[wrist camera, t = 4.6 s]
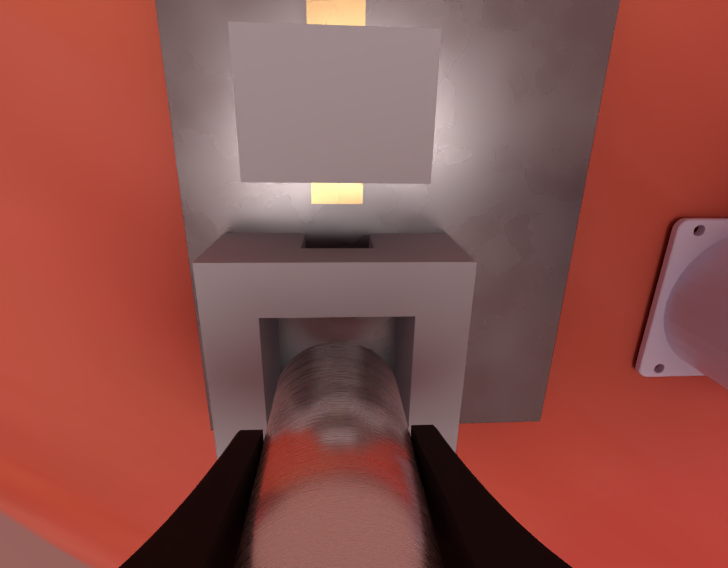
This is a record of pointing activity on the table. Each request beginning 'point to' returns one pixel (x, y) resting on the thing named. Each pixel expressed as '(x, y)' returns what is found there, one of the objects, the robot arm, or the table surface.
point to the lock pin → (336, 7)
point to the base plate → (448, 179)
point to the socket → (333, 299)
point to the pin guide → (334, 102)
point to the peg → (338, 471)
